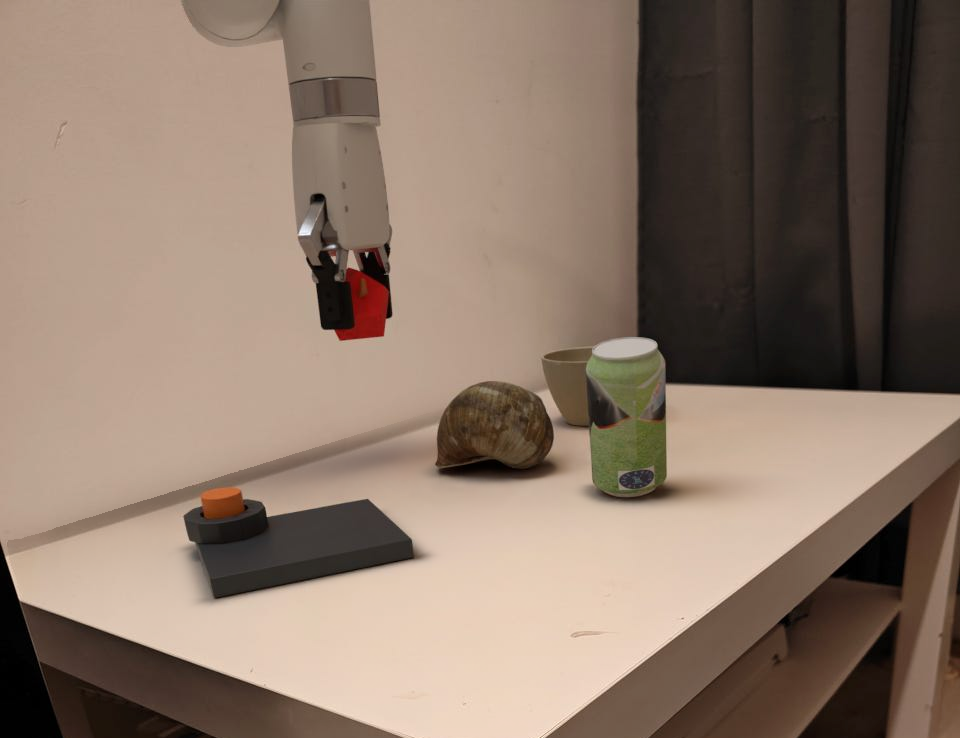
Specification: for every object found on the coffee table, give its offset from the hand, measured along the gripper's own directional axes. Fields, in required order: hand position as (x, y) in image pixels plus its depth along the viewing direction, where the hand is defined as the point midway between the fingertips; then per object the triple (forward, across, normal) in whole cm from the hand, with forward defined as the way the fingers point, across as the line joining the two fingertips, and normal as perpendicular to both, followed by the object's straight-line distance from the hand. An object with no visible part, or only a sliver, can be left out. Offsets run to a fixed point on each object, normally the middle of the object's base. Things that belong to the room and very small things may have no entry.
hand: (358, 322), depth 88 cm
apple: (+2, 0, 0) cm, 2 cm away
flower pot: (+13, -17, +18) cm, 28 cm away
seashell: (+13, +2, +14) cm, 19 cm away
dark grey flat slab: (+13, +26, +7) cm, 30 cm away
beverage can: (+13, +9, +28) cm, 32 cm away
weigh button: (+11, +26, +1) cm, 28 cm away
